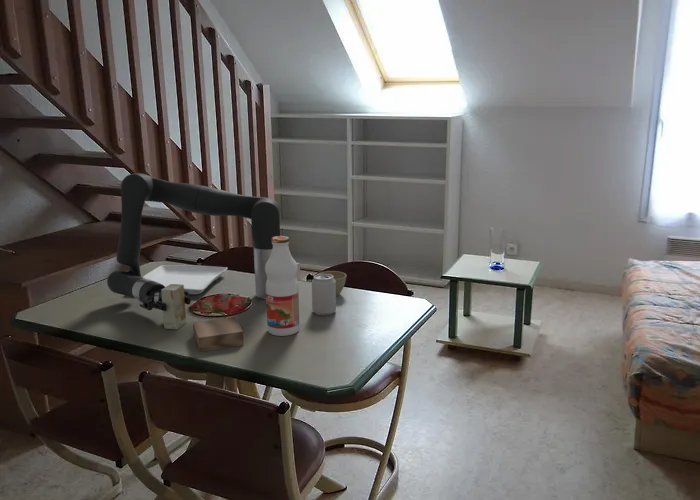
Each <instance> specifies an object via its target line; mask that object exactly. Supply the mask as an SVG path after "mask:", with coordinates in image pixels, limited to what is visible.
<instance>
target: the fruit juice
mask: <svg viewBox="0 0 700 500" xmlns="http://www.w3.org/2000/svg"><path fill="white" fill-rule="evenodd" d="M272 244H273V248H272V252H271V256H270V258H269V260H268V261H267V263H266V266H265V271H266V275H267V281H266V299H265V301H266V302H265V303H266V327H267V332H268V333H269V334H271V335H273V336H277V337H287V336H292V335H295V334H297V333H298V332H299V331H300V327H301V326H300V298H299V297H300V295H299V294H300V293H299V282H298V279H297V273H298V263H297V262H296V260H295V258H293V256H292V254H291V251H290V247H289V244H290V237H289V236H285V235H280V236H275V237H272Z"/></svg>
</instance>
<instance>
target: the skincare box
mask: <svg viewBox="0 0 700 500" xmlns="http://www.w3.org/2000/svg"><path fill="white" fill-rule="evenodd" d="M161 292H162V302H163V303H165V304H166V306H167V311H162V314H163V326H164V330H166V329H169V330H178V329H179V328H181V327H182V326H184V325H185V324H186V323H187V316H186V313H187V312H186V304H185V298H184V285H181V284H170V285H168V286H166V287H165V288H163V289H162V290H161Z"/></svg>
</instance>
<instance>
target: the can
mask: <svg viewBox="0 0 700 500" xmlns="http://www.w3.org/2000/svg"><path fill="white" fill-rule="evenodd" d="M317 274H318V275H317ZM317 274H315V275H313V279H312V280H311V306H312V310H311V311H312V312H313V313H315V314H316V315H318V316H330V315H333V314H334V313H335V312H336V310H337V300H336V299H337V297H336V280H335V279H334V278H333V275H331V274H319V273H317ZM332 313H333V314H332Z"/></svg>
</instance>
